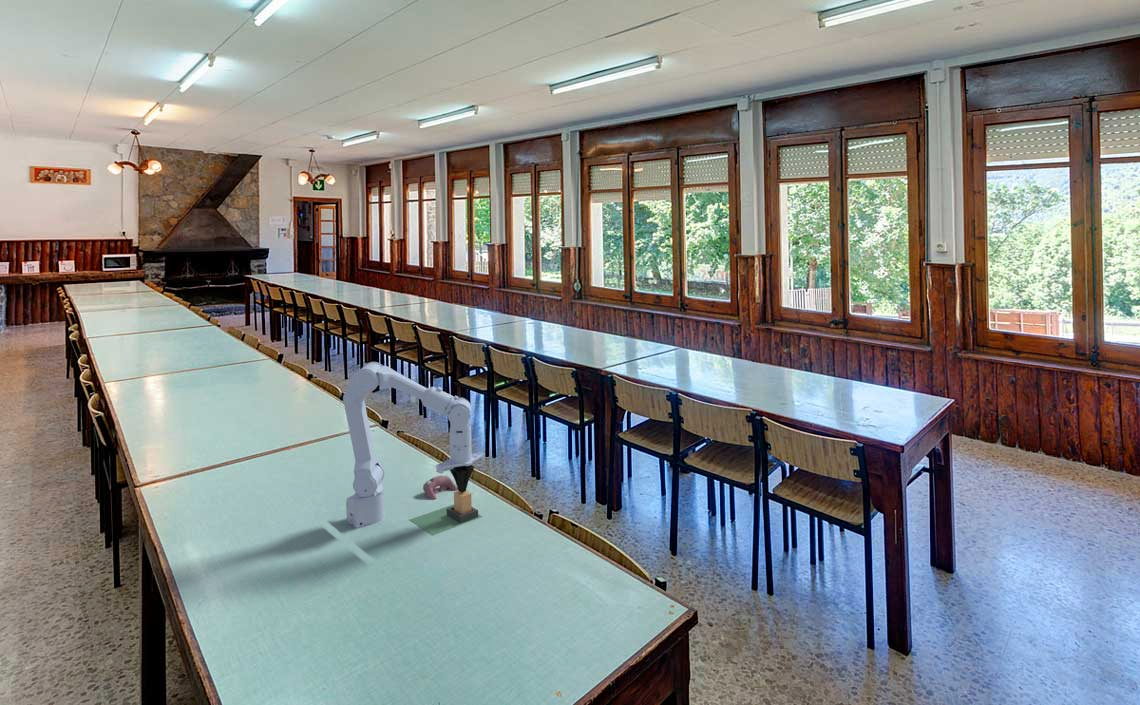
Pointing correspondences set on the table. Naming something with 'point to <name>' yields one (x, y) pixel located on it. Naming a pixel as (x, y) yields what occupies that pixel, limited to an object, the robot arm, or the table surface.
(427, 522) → the board
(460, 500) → the plug
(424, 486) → the video game controller
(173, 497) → the table surface
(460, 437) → the robot arm
